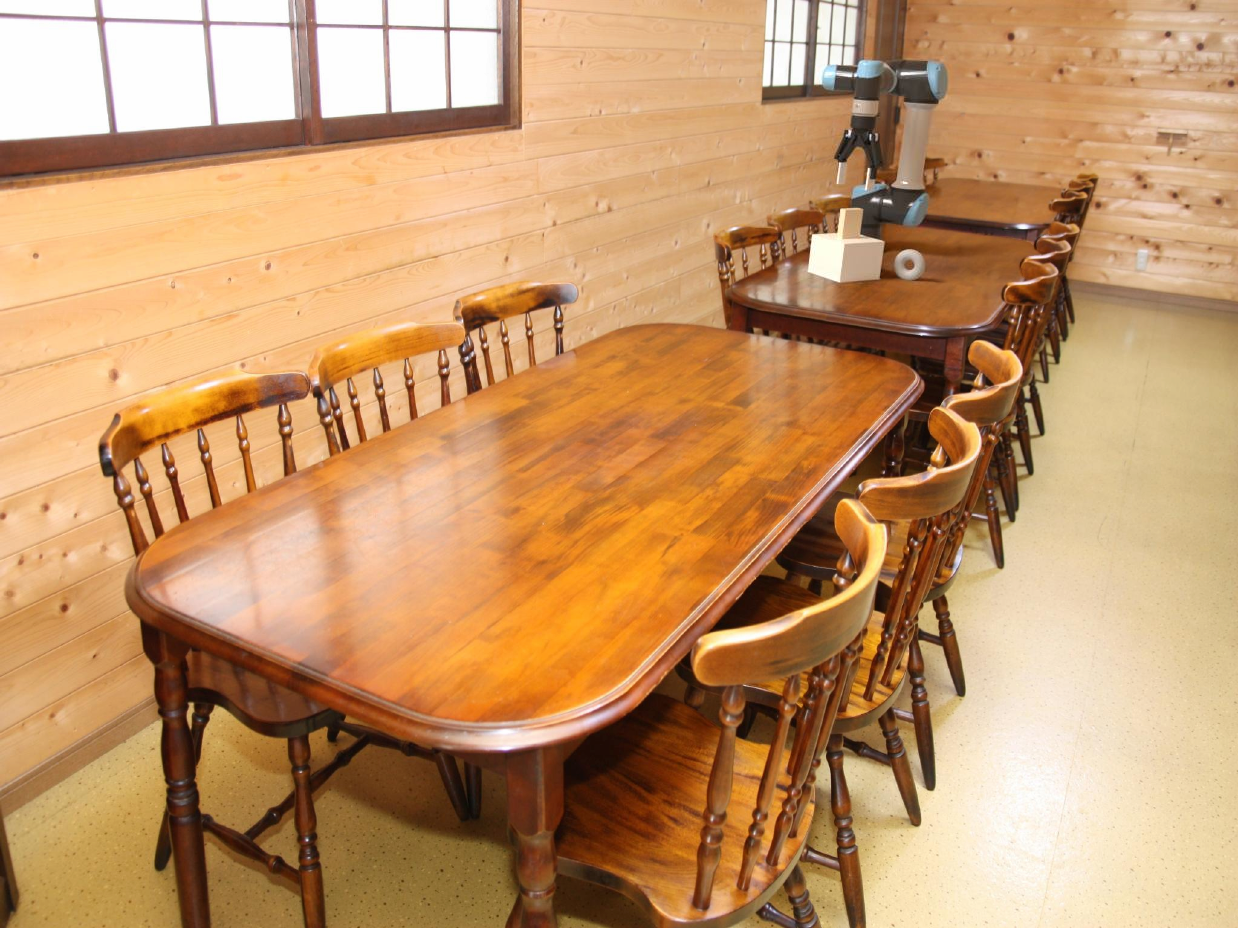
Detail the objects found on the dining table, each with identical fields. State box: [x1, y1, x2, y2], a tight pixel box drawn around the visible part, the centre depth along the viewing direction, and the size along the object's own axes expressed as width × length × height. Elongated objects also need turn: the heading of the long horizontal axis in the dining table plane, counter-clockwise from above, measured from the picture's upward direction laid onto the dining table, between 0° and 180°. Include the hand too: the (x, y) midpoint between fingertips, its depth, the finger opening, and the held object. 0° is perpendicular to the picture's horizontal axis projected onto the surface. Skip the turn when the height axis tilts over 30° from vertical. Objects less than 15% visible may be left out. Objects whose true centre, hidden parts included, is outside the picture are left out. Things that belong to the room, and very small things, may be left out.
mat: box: [806, 270, 881, 284], centre depth 330 cm, size 17×17×1 cm
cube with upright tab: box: [807, 207, 886, 283], centre depth 326 cm, size 16×16×21 cm
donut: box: [893, 248, 926, 281], centre depth 327 cm, size 10×3×10 cm, turn 58°
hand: (854, 187), depth 319 cm, fingers open, 13 cm apart
